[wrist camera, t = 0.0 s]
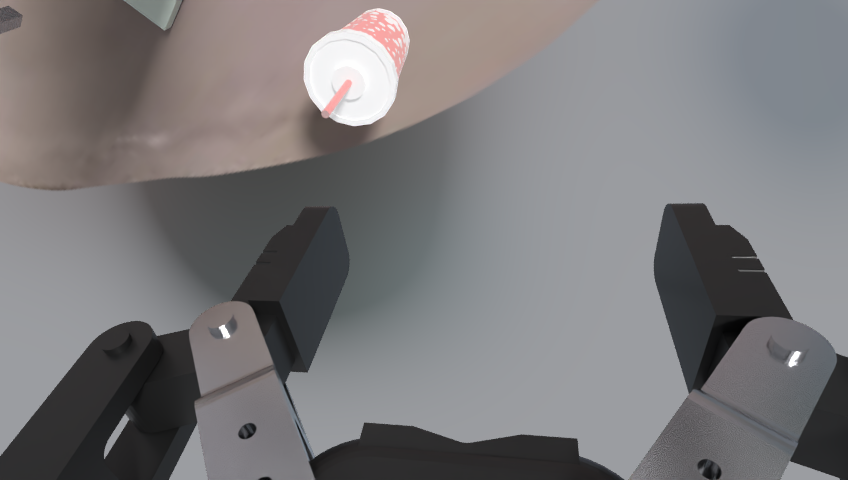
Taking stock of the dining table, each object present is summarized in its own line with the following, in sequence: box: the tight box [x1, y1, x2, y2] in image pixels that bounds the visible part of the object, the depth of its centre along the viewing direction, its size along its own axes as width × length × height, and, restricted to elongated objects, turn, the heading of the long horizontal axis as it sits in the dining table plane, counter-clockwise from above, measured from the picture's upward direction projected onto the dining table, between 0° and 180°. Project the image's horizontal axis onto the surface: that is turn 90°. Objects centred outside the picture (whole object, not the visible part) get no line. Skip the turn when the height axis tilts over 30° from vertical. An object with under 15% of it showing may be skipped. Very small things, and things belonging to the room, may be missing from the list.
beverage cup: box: [304, 8, 410, 126], centre depth 34 cm, size 6×6×14 cm
